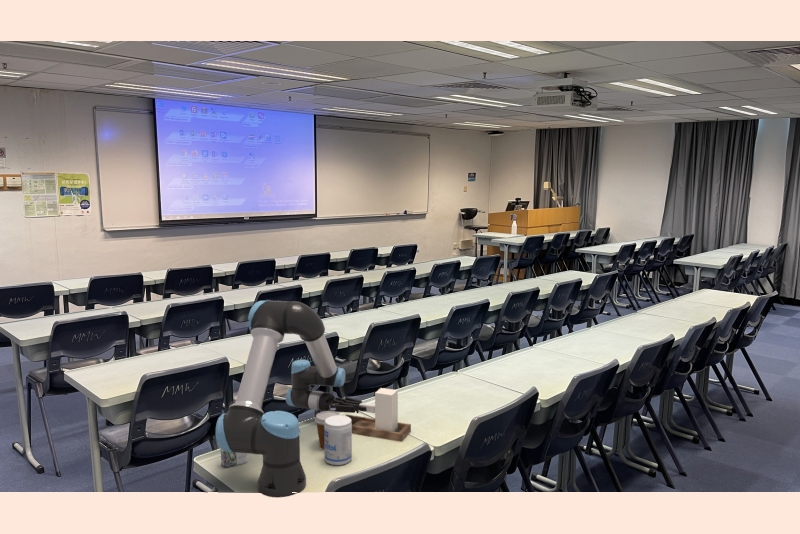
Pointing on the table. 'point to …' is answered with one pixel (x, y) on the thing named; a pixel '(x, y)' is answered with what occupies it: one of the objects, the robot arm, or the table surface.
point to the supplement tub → (338, 440)
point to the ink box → (232, 458)
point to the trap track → (368, 429)
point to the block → (386, 409)
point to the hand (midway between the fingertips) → (375, 409)
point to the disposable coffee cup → (323, 424)
